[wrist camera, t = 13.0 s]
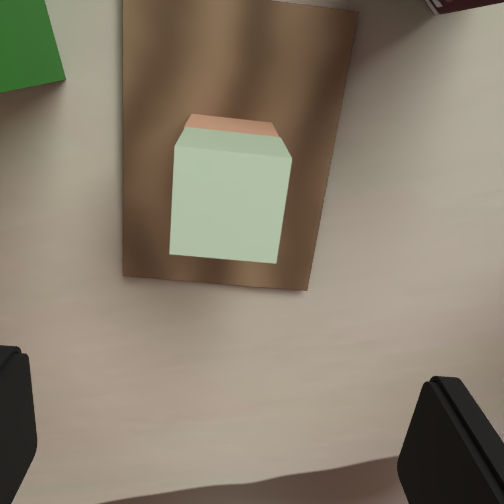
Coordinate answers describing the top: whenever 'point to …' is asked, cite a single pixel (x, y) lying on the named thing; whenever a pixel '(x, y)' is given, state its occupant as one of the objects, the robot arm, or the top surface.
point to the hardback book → (27, 46)
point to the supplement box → (457, 5)
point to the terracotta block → (231, 125)
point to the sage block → (228, 195)
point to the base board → (230, 106)
